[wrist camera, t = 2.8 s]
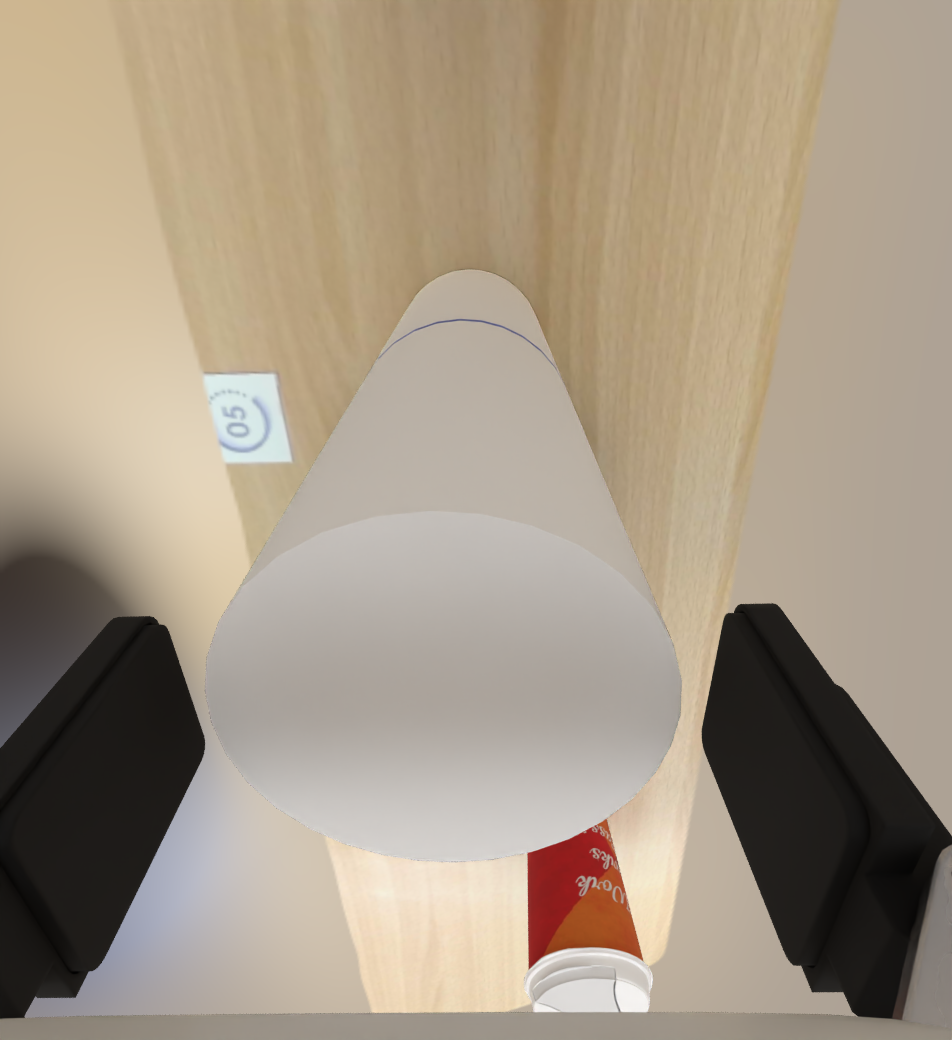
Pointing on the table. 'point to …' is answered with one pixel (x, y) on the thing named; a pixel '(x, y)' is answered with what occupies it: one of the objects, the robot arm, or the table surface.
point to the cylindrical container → (449, 608)
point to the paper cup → (582, 930)
